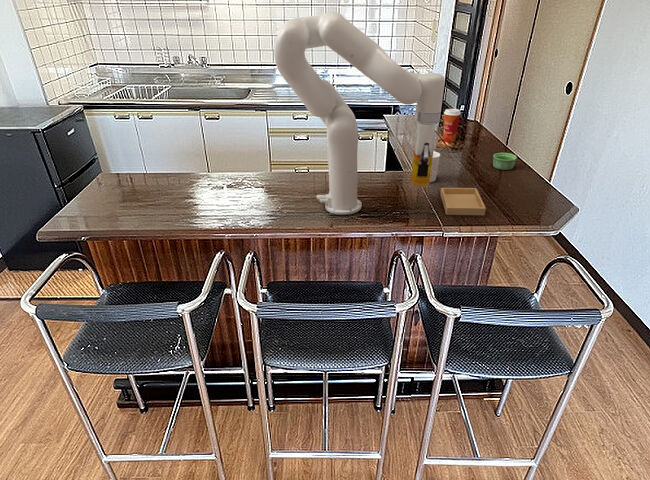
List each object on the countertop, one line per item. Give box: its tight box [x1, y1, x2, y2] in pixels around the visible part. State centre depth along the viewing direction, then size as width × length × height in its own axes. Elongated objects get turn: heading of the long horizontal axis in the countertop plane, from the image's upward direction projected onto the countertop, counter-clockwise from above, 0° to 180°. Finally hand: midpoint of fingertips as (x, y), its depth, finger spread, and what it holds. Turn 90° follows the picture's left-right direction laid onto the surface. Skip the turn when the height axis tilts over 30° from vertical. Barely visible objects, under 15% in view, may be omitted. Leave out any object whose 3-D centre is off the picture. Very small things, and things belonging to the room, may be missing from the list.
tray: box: [439, 187, 487, 216], centre depth 150 cm, size 12×16×3 cm
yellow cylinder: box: [410, 142, 435, 189], centre depth 143 cm, size 6×6×15 cm
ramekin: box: [492, 152, 518, 171], centre depth 178 cm, size 9×9×4 cm
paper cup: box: [442, 108, 462, 143], centre depth 206 cm, size 8×8×14 cm
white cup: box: [429, 150, 441, 183], centre depth 167 cm, size 8×8×10 cm
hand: (421, 171), depth 145 cm, fingers closed on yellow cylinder, 6 cm apart
